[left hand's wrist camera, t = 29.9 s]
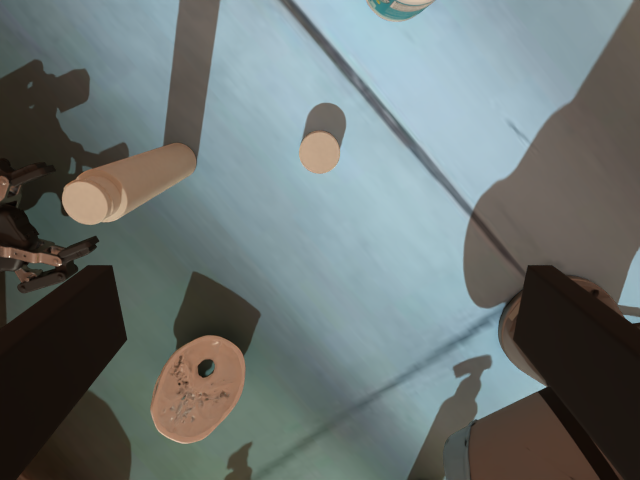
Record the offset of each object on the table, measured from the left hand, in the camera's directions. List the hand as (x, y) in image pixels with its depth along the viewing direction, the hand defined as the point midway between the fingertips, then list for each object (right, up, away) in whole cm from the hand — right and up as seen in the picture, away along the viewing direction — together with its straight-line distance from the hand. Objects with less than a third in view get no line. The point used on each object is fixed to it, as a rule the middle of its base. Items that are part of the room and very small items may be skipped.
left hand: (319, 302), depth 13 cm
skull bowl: (-17, -16, +44) cm, 50 cm away
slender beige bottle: (-17, +12, +34) cm, 39 cm away
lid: (0, +12, +32) cm, 34 cm away
